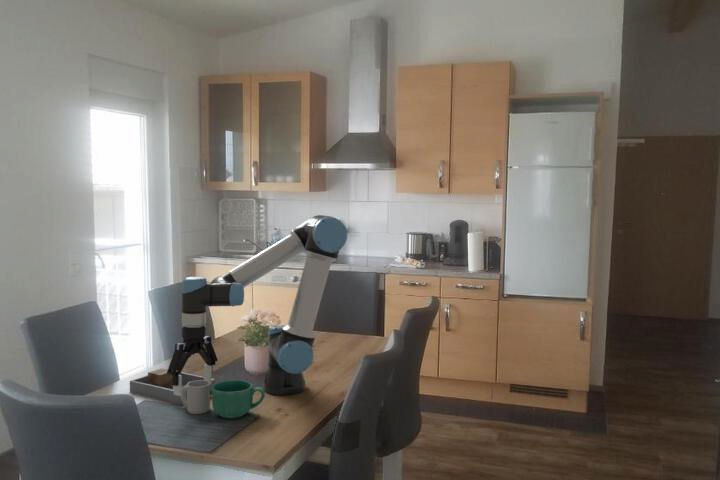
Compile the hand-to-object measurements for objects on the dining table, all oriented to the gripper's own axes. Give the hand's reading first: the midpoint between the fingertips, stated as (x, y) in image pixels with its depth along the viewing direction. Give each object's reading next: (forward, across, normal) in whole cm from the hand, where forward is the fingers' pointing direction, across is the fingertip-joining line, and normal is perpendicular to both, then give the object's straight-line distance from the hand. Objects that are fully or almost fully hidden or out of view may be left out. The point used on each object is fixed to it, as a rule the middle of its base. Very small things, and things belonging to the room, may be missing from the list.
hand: (193, 389), depth 202 cm
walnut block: (+6, -10, -25) cm, 27 cm away
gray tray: (+7, -10, -19) cm, 22 cm away
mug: (+7, -4, +15) cm, 17 cm away
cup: (+7, 0, 0) cm, 7 cm away
